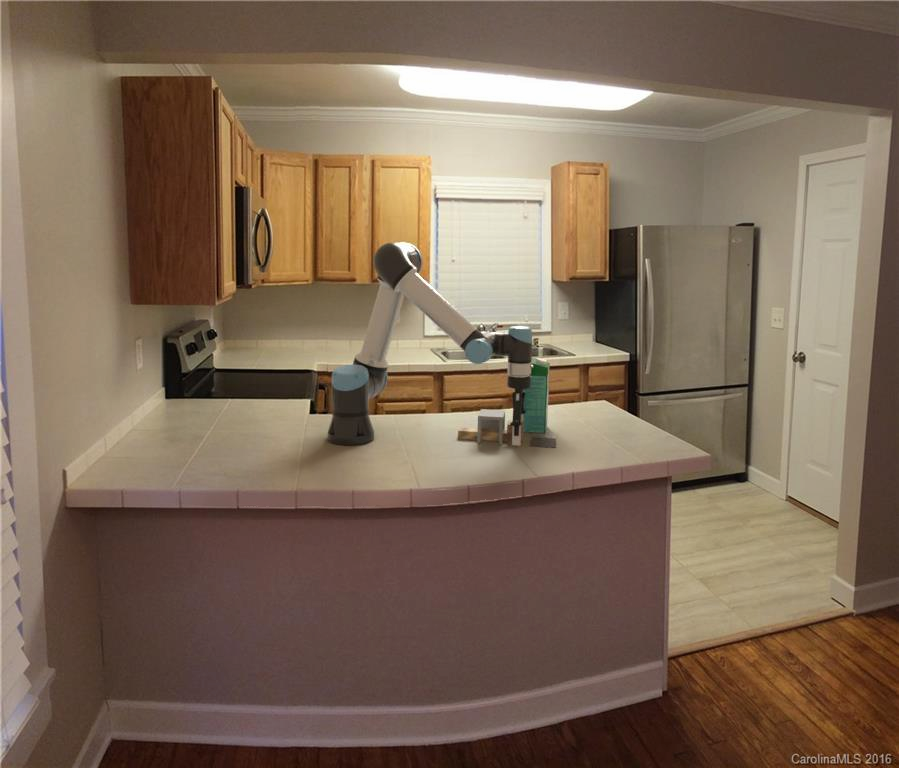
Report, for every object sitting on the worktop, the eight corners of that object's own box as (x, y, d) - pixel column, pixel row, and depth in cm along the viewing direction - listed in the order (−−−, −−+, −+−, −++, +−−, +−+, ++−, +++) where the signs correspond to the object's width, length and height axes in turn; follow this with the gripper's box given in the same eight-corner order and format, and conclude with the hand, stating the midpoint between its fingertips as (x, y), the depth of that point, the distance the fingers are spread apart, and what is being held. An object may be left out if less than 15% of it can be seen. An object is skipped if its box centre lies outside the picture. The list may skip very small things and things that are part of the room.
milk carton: (545, 433, 243) (548, 360, 238) (518, 431, 245) (521, 359, 240) (547, 426, 252) (550, 356, 247) (521, 424, 254) (523, 354, 248)
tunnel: (477, 442, 231) (477, 415, 229) (480, 435, 240) (481, 409, 238) (502, 444, 230) (502, 417, 228) (504, 436, 239) (505, 410, 237)
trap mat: (530, 446, 228) (530, 445, 228) (531, 437, 238) (531, 437, 238) (555, 447, 227) (555, 447, 227) (556, 439, 237) (556, 438, 237)
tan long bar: (457, 439, 236) (458, 430, 235) (459, 436, 240) (459, 427, 239) (506, 442, 234) (506, 433, 233) (507, 438, 237) (507, 430, 237)
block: (506, 442, 232) (507, 424, 231) (507, 438, 237) (508, 420, 236) (522, 443, 232) (522, 425, 230) (523, 439, 236) (523, 421, 235)
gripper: (529, 383, 216) (527, 450, 221) (532, 368, 240) (530, 429, 245) (504, 382, 218) (502, 449, 222) (510, 367, 242) (508, 428, 246)
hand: (517, 439), depth 233 cm, fingers open, 13 cm apart
